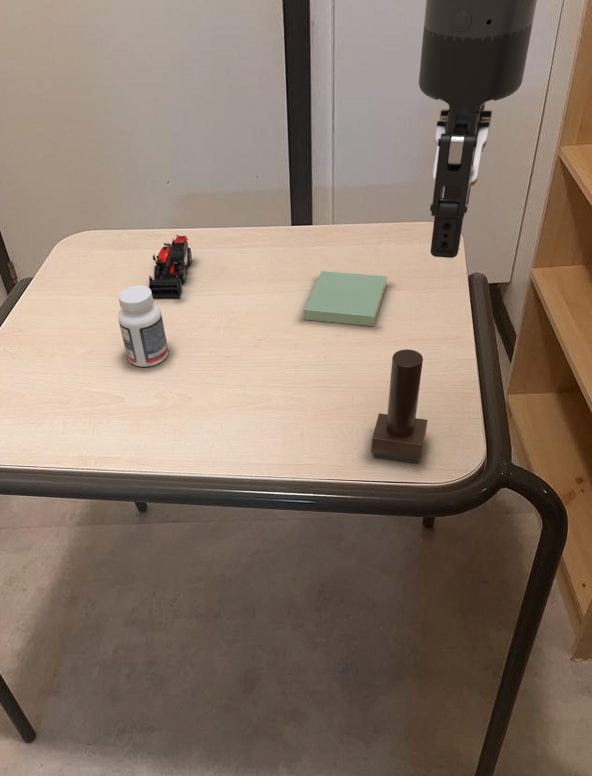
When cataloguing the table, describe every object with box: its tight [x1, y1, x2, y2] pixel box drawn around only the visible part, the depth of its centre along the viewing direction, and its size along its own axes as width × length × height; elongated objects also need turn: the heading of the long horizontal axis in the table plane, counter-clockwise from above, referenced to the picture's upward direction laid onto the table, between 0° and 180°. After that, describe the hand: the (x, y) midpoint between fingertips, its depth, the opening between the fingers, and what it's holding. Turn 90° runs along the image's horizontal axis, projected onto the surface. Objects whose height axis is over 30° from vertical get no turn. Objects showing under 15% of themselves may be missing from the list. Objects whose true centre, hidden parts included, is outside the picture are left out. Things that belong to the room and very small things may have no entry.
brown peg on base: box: [371, 348, 429, 464], centre depth 71 cm, size 5×4×12 cm
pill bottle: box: [117, 285, 169, 368], centre depth 88 cm, size 5×5×9 cm
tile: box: [303, 270, 388, 327], centre depth 96 cm, size 9×10×2 cm
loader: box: [148, 234, 193, 298], centre depth 103 cm, size 12×5×5 cm, turn 173°
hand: (449, 231), depth 63 cm, fingers open, 8 cm apart
